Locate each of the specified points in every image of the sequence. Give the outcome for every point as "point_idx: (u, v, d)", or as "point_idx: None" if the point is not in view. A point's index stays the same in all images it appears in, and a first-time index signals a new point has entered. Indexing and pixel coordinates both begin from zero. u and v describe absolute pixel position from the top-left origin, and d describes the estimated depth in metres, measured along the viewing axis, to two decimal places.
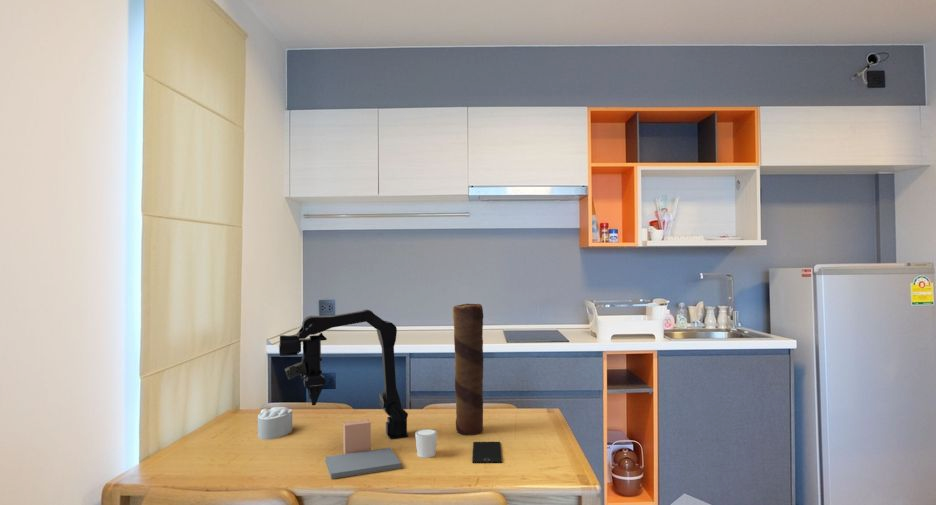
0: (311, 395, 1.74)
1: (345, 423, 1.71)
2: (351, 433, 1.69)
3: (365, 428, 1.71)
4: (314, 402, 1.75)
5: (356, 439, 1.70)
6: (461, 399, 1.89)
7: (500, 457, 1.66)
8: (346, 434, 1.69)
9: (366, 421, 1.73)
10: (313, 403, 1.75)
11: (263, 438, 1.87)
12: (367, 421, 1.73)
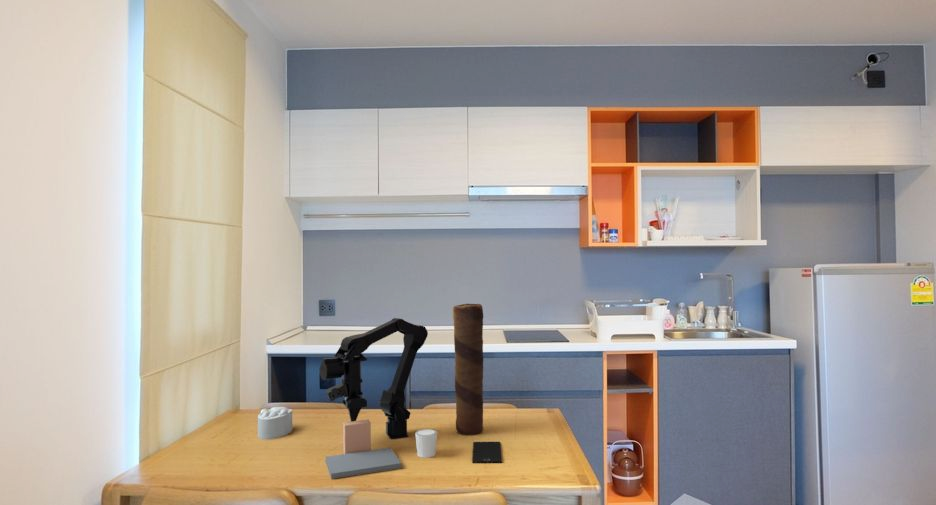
0: (351, 413, 1.78)
1: (345, 423, 1.71)
2: (351, 433, 1.69)
3: (365, 428, 1.71)
4: (353, 420, 1.79)
5: (356, 439, 1.70)
6: (461, 399, 1.89)
7: (500, 457, 1.66)
8: (346, 434, 1.69)
9: (366, 421, 1.73)
10: None
11: (263, 438, 1.87)
12: (367, 421, 1.73)
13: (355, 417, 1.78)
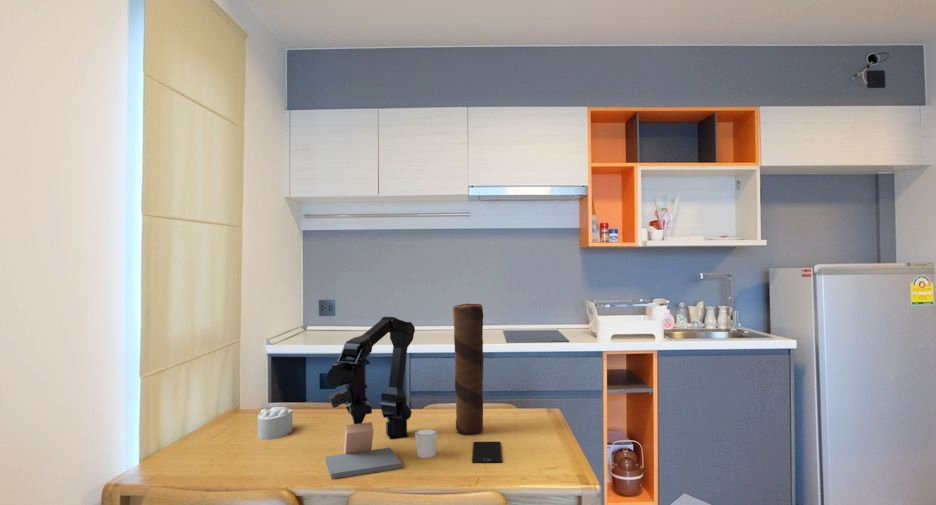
0: (355, 420, 1.69)
1: (347, 428, 1.66)
2: (353, 439, 1.66)
3: (367, 434, 1.67)
4: None
5: (357, 443, 1.67)
6: (461, 399, 1.89)
7: (500, 457, 1.65)
8: (348, 440, 1.66)
9: (369, 426, 1.68)
10: None
11: (263, 438, 1.87)
12: (370, 427, 1.68)
13: None
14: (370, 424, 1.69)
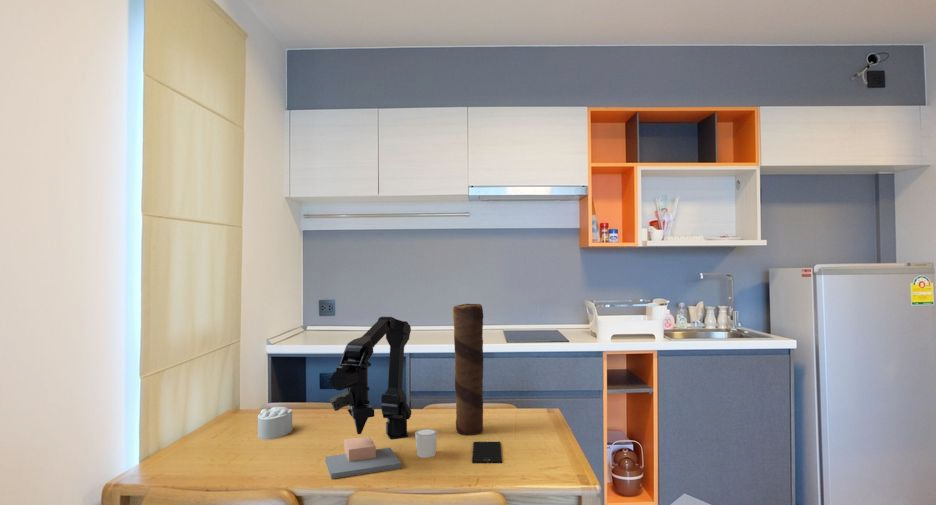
0: (357, 424, 1.66)
1: (350, 454, 1.61)
2: None
3: None
4: (360, 430, 1.67)
5: None
6: (461, 399, 1.89)
7: (500, 457, 1.65)
8: None
9: (372, 452, 1.64)
10: (359, 432, 1.67)
11: (263, 438, 1.87)
12: (373, 453, 1.64)
13: (361, 427, 1.67)
14: (374, 449, 1.64)
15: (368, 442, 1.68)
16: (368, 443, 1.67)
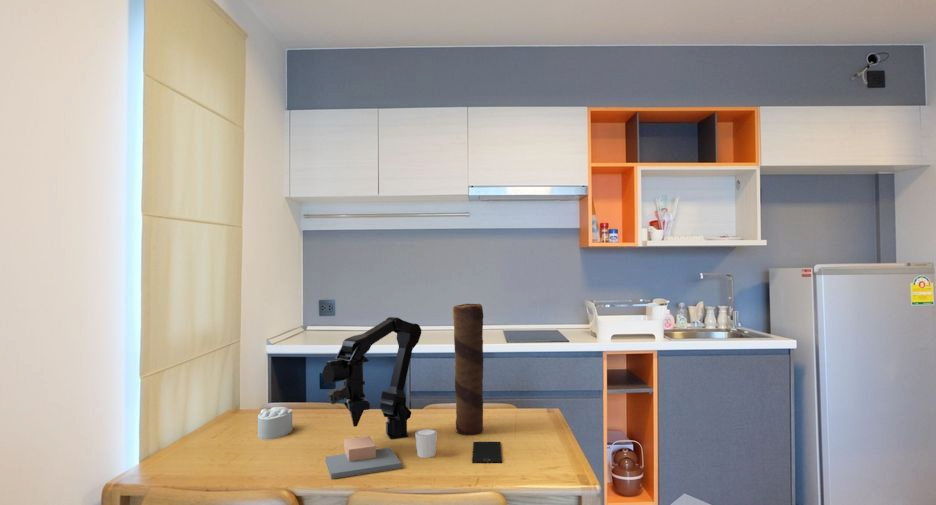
0: (353, 416, 1.74)
1: (350, 454, 1.61)
2: None
3: None
4: (356, 423, 1.75)
5: None
6: (461, 399, 1.89)
7: (500, 457, 1.65)
8: None
9: (372, 452, 1.64)
10: (355, 424, 1.75)
11: (263, 438, 1.87)
12: (373, 453, 1.64)
13: (357, 420, 1.75)
14: (374, 449, 1.64)
15: (368, 442, 1.68)
16: (368, 443, 1.67)
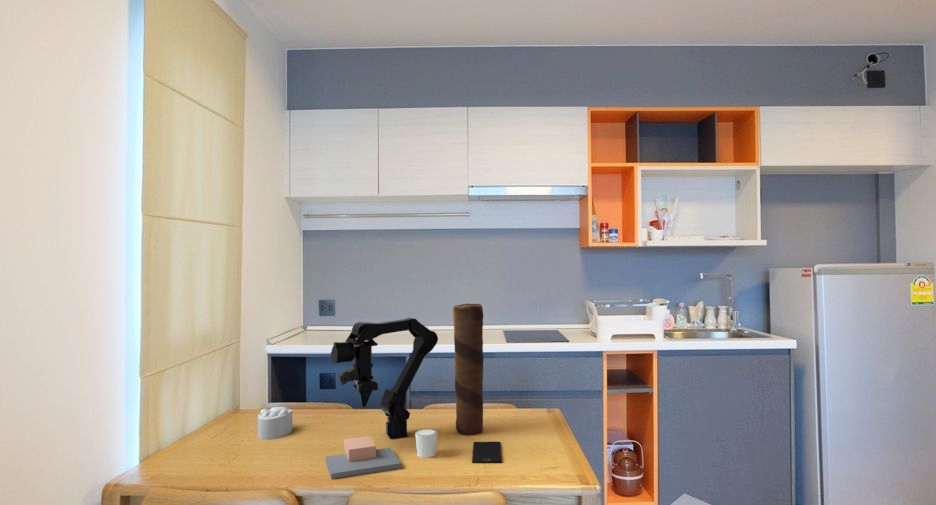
0: (362, 397, 1.81)
1: (350, 454, 1.61)
2: None
3: None
4: (364, 404, 1.82)
5: None
6: (461, 399, 1.89)
7: (500, 457, 1.65)
8: None
9: (372, 452, 1.64)
10: (363, 405, 1.82)
11: (263, 438, 1.87)
12: (373, 453, 1.64)
13: (366, 401, 1.82)
14: (374, 449, 1.64)
15: (368, 442, 1.68)
16: (368, 443, 1.67)
